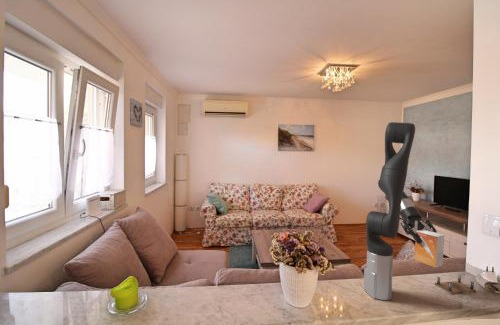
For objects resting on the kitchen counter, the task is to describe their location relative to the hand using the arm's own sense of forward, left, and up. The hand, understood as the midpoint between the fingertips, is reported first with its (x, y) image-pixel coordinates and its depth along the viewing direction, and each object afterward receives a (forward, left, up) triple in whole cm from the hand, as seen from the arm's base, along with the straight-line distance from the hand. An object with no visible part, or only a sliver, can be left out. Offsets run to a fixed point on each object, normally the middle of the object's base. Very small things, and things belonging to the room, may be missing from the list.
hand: (428, 242), depth 99 cm
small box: (0, 0, -9) cm, 9 cm away
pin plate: (+12, -2, -19) cm, 23 cm away
